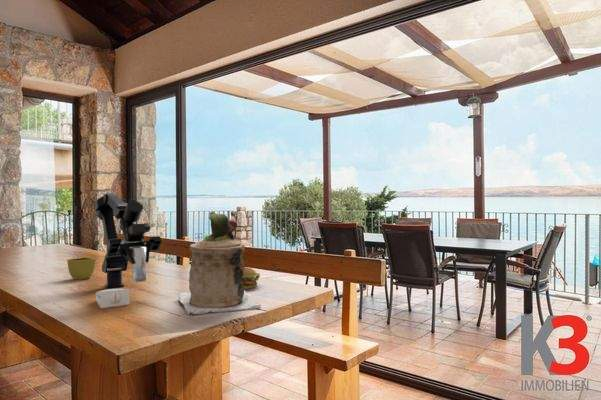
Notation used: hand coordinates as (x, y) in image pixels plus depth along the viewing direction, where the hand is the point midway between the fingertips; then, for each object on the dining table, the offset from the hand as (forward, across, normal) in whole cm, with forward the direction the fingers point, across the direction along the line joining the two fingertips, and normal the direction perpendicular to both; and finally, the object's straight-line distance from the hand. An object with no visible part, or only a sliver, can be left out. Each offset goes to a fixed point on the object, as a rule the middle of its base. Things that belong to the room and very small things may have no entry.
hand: (140, 262), depth 150 cm
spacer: (+4, 0, +6) cm, 7 cm away
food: (+13, +40, +6) cm, 43 cm away
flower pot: (-31, -7, +51) cm, 60 cm away
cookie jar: (+26, +18, -7) cm, 33 cm away
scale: (+8, -9, +11) cm, 16 cm away
